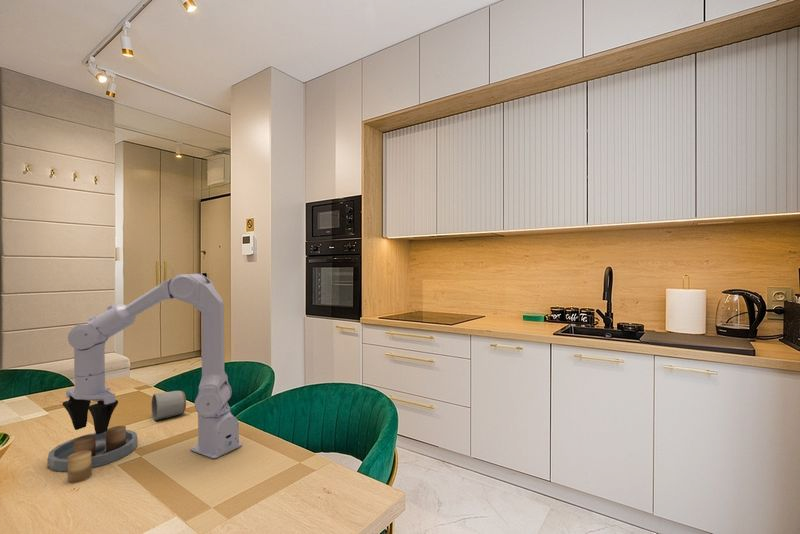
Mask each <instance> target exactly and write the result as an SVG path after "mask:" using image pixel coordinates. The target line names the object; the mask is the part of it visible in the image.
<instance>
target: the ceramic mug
mask: <svg viewBox="0 0 800 534" xmlns="http://www.w3.org/2000/svg"><path fill="white" fill-rule="evenodd" d="M150 405H151V406H150V407H151V416H152V419H153V421H159V420H163V419H167V418H172V417H176V416H179V415H182V414H184V413H185V411H186V407H187V398H186V394H185V392H184V391H183V390H173V391H166V392H165V391H164V392H157V393H153V395H152V397H151V403H150Z"/></svg>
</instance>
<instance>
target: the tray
mask: <svg viewBox="0 0 800 534" xmlns="http://www.w3.org/2000/svg"><path fill="white" fill-rule="evenodd" d="M86 435H95V436H96V456H92V469H95V468H99V467H103V466H105V465H108V464H111V463H114V462H116V460H117V461H119V460H121V459H123V458H124V456H125V457H127V456H128V455H130V454H131V453H132V451H133V450H134V449H135V450H136V448H137V447H138V444H139V443H138V434H137V432H135V431H133V430H129V429H126V444H125V445H123V446H122V447H120V448H118V449H115V450H112V451H110V452H107V453H106V432H103V433H101V434H96V432H92V433H89V434H86ZM76 438H77V437H75V438H71V439H69V440H67V441H65V442H62V443H60V444H58V445H57V446H55V447H54V448H53V449H51V450H50V451H48V456H47V465H48V468H49V469H50V470H51V471H54V472H60V473H63V472H64V473H68V456H69V455H71V454H73V453H74V448H73V440H74V439H76ZM135 450H134V451H135ZM134 451H133V452H134ZM129 453H130V454H129ZM126 455H127V456H126ZM122 457H123V458H122ZM120 458H121V459H120ZM118 459H119V460H118Z"/></svg>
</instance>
